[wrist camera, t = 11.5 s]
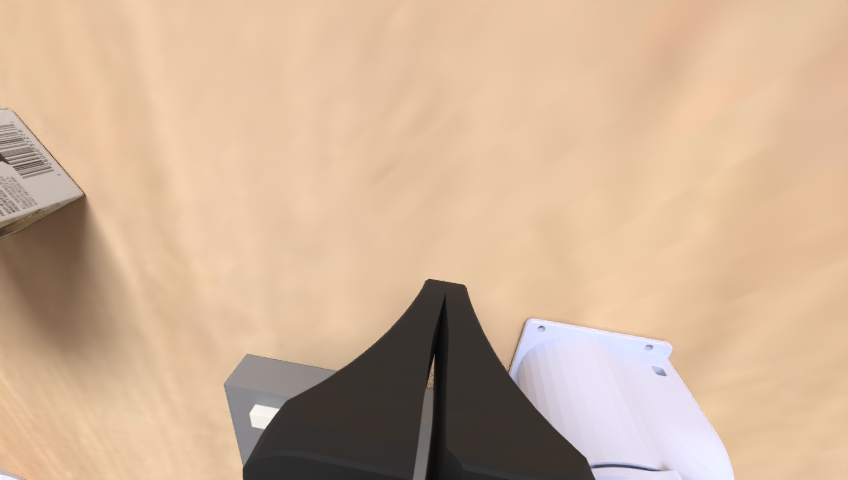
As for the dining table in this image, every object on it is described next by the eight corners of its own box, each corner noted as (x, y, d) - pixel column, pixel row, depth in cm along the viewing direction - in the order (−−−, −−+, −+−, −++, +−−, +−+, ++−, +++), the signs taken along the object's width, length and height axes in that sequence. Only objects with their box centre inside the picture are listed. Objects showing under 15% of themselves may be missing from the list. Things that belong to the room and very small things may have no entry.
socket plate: (460, 394, 28) (458, 440, 24) (434, 498, 35) (430, 544, 32) (246, 354, 29) (216, 393, 25) (266, 463, 36) (245, 504, 33)
